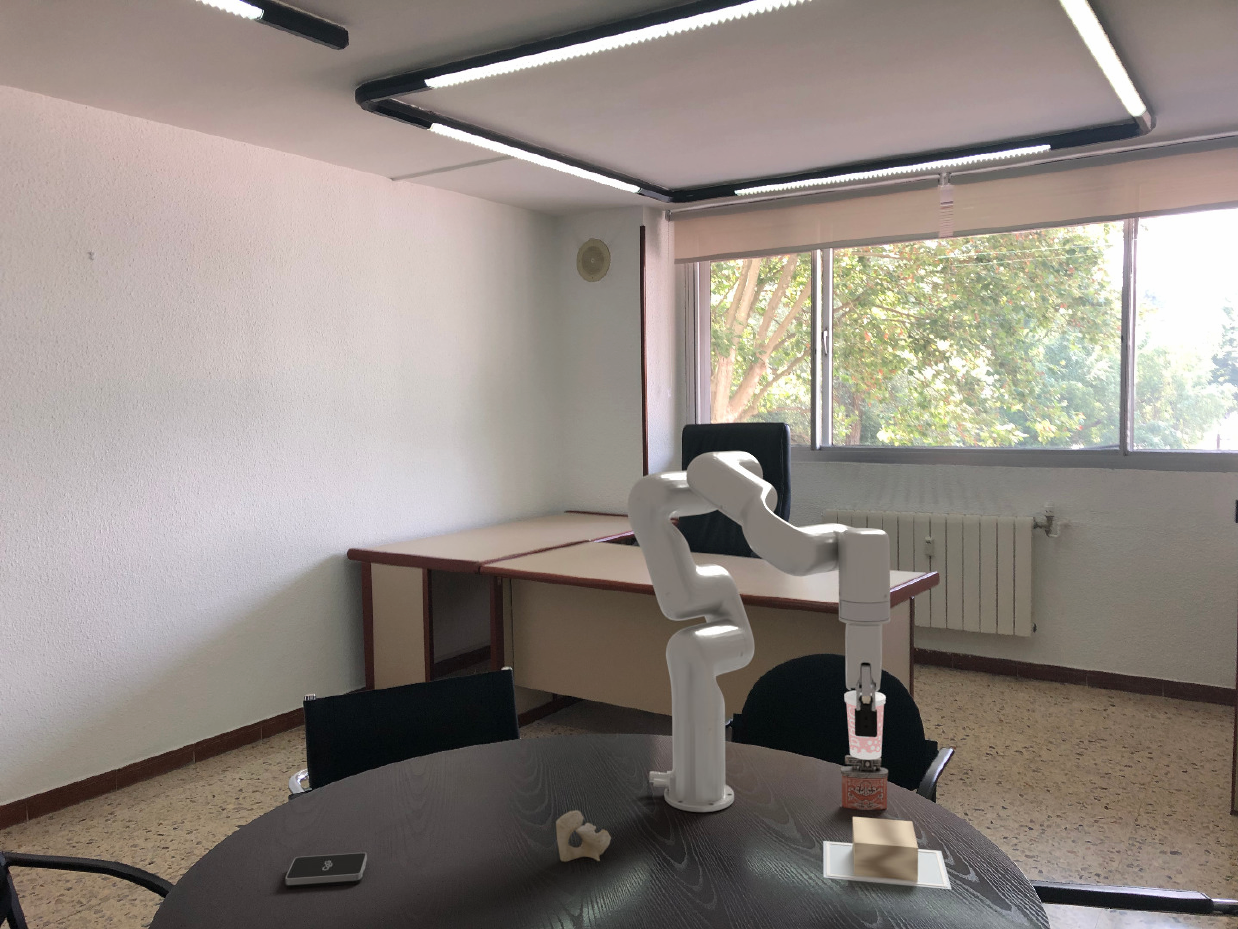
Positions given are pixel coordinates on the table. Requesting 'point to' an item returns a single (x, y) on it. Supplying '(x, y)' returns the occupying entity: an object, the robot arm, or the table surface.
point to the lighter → (864, 784)
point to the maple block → (885, 849)
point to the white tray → (842, 867)
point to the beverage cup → (858, 744)
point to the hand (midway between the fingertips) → (865, 727)
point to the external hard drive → (326, 870)
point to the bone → (591, 841)
